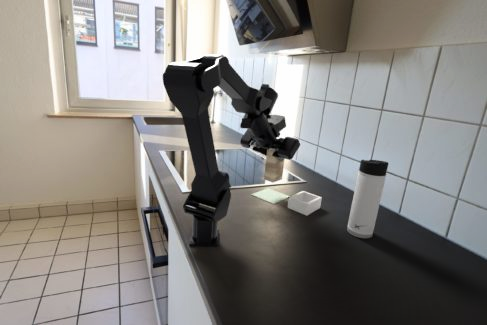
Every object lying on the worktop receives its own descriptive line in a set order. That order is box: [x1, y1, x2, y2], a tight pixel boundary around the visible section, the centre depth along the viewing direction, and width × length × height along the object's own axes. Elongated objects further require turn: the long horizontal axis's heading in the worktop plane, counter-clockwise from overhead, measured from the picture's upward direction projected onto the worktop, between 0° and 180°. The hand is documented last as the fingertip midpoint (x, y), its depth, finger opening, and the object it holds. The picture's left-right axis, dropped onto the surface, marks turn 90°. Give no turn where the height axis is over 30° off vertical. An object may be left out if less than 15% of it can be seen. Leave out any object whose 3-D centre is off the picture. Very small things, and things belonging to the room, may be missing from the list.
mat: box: [250, 187, 291, 205], centre depth 94 cm, size 9×9×1 cm
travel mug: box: [346, 159, 389, 239], centre depth 72 cm, size 6×7×20 cm
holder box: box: [287, 190, 323, 216], centre depth 87 cm, size 8×7×4 cm
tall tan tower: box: [263, 148, 285, 183], centre depth 91 cm, size 5×4×12 cm
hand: (277, 159), depth 92 cm, fingers closed on tall tan tower, 3 cm apart
